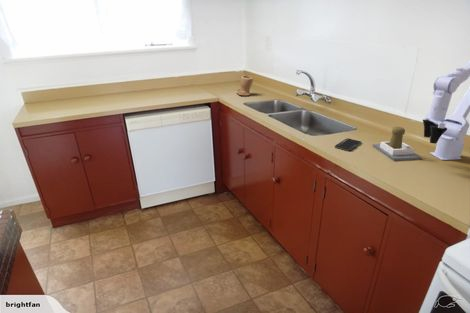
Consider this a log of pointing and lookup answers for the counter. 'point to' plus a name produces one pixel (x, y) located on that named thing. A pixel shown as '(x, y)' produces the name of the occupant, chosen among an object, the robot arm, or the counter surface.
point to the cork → (397, 138)
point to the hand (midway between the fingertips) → (429, 140)
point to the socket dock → (397, 151)
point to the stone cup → (245, 85)
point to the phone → (348, 144)
